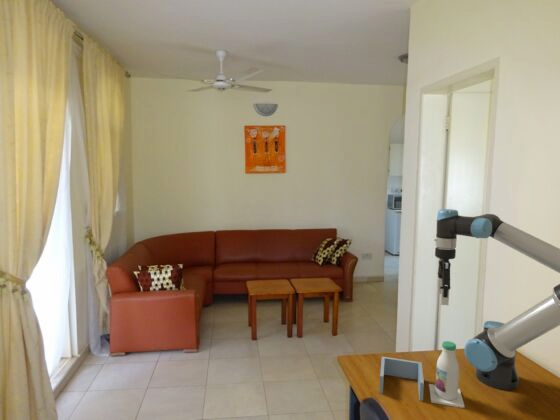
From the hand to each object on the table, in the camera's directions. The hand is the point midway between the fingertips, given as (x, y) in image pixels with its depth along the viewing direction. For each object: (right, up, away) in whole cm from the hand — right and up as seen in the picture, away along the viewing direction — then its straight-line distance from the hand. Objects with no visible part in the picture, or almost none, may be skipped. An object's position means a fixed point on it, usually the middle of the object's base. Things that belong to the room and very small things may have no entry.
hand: (442, 299), depth 153 cm
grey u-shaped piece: (-19, -33, -6) cm, 38 cm away
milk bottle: (-4, -33, -13) cm, 36 cm away
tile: (-4, -33, -13) cm, 36 cm away
